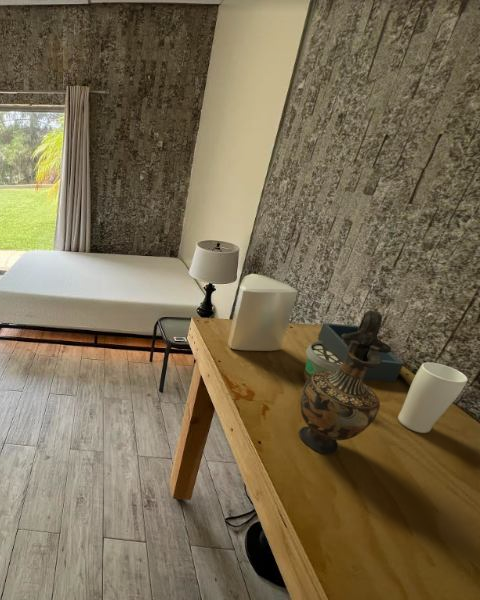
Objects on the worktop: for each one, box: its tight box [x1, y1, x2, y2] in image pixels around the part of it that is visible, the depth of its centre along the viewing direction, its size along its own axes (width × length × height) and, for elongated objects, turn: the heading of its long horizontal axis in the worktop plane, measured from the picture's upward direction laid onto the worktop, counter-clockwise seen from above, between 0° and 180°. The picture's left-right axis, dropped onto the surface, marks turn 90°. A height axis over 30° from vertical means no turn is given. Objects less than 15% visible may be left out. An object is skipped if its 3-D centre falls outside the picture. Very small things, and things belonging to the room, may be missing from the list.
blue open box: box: [317, 322, 404, 383], centre depth 93 cm, size 10×20×6 cm, turn 167°
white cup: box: [397, 361, 469, 434], centre depth 69 cm, size 7×7×15 cm
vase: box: [298, 310, 392, 456], centre depth 62 cm, size 12×12×30 cm
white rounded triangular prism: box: [227, 273, 299, 352], centre depth 100 cm, size 15×14×22 cm
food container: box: [302, 340, 343, 384], centre depth 83 cm, size 12×6×10 cm, turn 178°
